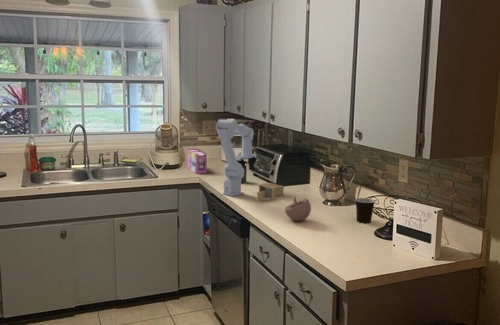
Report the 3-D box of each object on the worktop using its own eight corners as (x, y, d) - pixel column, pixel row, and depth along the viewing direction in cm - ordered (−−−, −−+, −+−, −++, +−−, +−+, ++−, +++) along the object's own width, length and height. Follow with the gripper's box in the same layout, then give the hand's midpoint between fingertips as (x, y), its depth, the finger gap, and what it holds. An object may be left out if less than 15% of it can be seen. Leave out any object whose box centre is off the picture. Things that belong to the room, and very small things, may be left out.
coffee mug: (369, 225, 224) (370, 203, 222) (351, 221, 229) (352, 200, 227) (378, 219, 234) (379, 198, 232) (361, 216, 238) (362, 195, 237)
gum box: (207, 173, 332) (207, 153, 329) (196, 174, 329) (196, 154, 326) (197, 167, 354) (197, 148, 351) (186, 167, 351) (186, 148, 348)
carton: (273, 197, 272) (273, 188, 271) (258, 193, 280) (258, 184, 279) (283, 194, 277) (283, 186, 276) (268, 191, 286) (268, 182, 285)
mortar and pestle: (286, 216, 237) (286, 192, 234) (311, 217, 235) (312, 194, 232) (283, 223, 225) (284, 199, 223) (309, 225, 223) (310, 200, 221)
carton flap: (273, 197, 271) (273, 185, 269) (279, 199, 267) (280, 186, 266) (257, 200, 263) (257, 188, 262) (263, 202, 259) (264, 190, 258)
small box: (226, 181, 308) (227, 165, 306) (232, 179, 314) (232, 163, 312) (241, 183, 303) (241, 167, 302) (246, 181, 309) (247, 165, 307)
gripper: (243, 150, 279) (243, 173, 282) (260, 147, 290) (259, 170, 292) (234, 149, 284) (234, 172, 286) (251, 146, 294) (250, 168, 297)
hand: (246, 171), depth 290 cm, fingers open, 7 cm apart
